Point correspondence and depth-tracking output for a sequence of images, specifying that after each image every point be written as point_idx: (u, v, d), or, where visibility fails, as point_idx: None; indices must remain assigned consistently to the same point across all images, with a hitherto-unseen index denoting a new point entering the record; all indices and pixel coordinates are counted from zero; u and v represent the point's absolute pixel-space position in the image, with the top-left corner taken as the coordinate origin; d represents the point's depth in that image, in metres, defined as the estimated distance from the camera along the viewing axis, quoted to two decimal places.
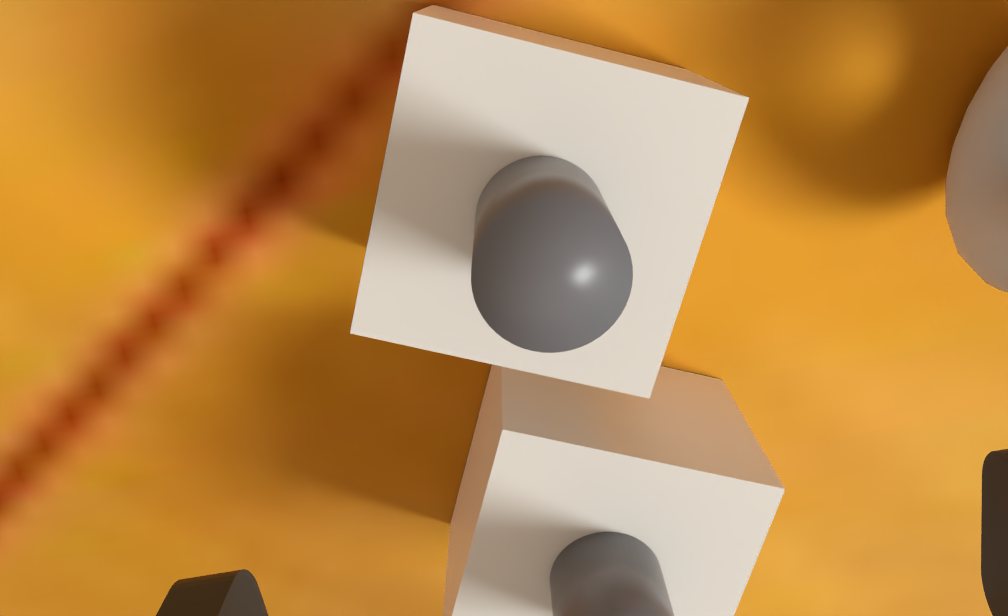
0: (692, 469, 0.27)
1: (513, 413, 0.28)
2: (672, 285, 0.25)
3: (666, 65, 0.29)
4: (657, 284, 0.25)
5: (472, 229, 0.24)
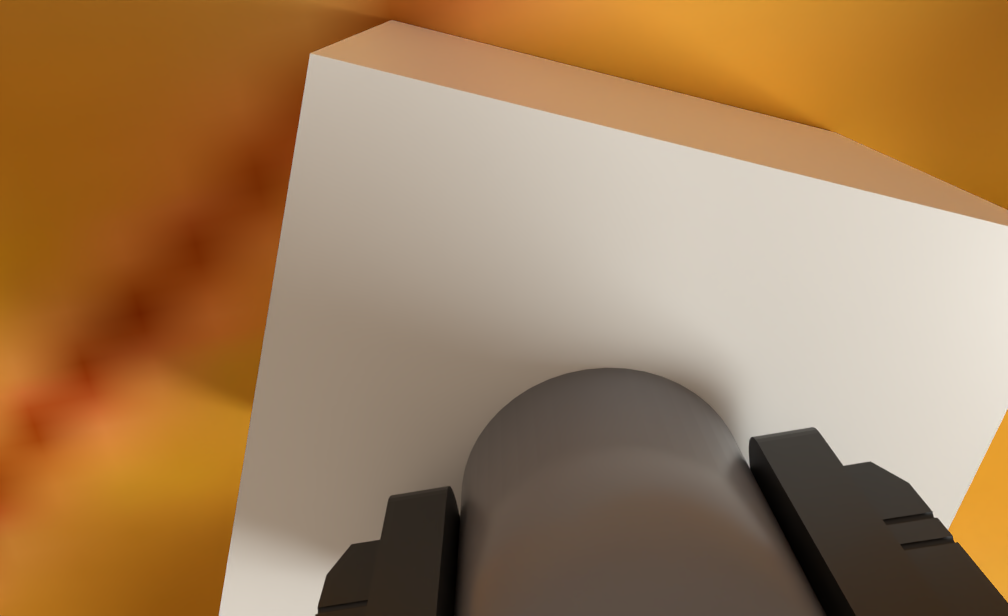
0: None
1: None
2: None
3: (809, 130, 0.16)
4: None
5: None
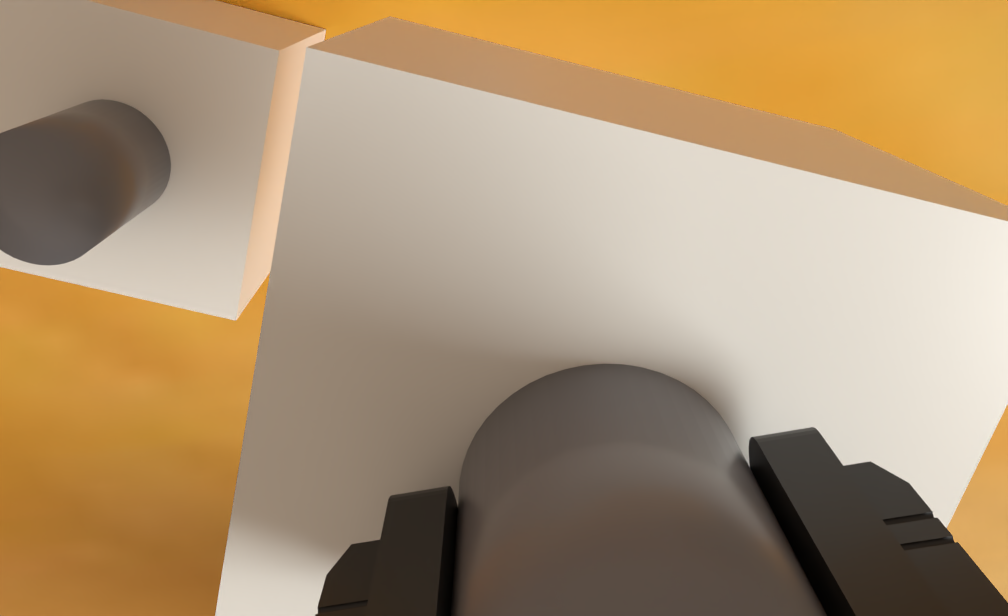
0: (178, 24, 0.26)
1: None
2: None
3: (808, 127, 0.16)
4: None
5: None
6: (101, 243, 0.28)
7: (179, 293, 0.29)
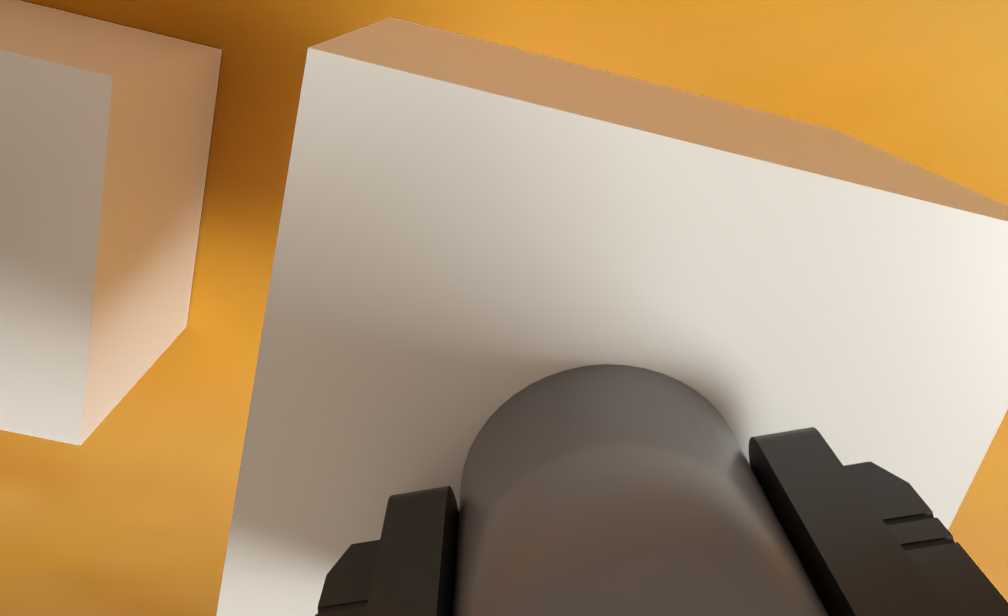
0: None
1: None
2: None
3: (809, 127, 0.16)
4: None
5: None
6: None
7: None
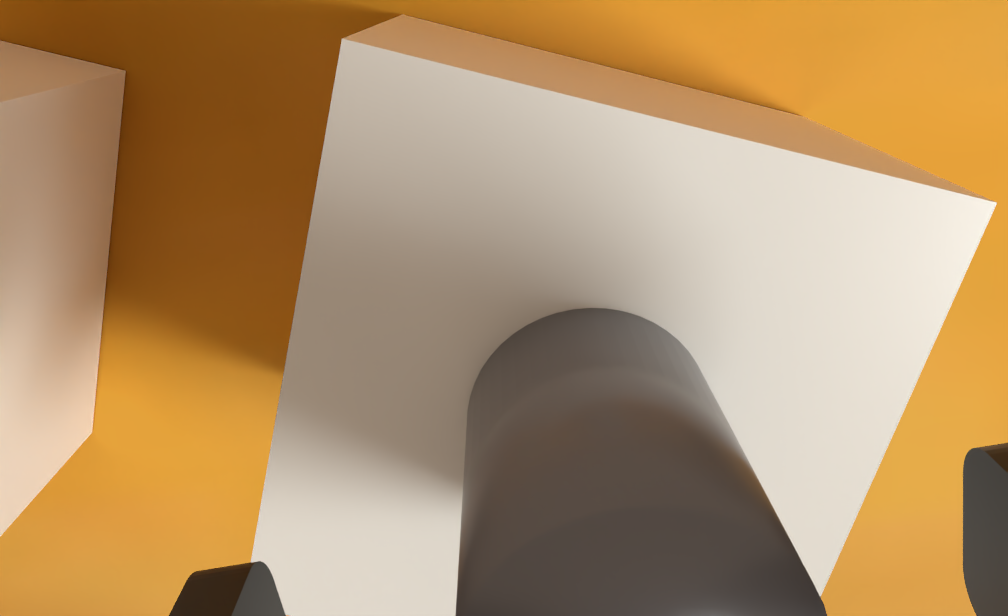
0: None
1: None
2: (824, 528, 0.14)
3: (777, 113, 0.18)
4: (797, 527, 0.14)
5: (462, 435, 0.13)
6: None
7: None
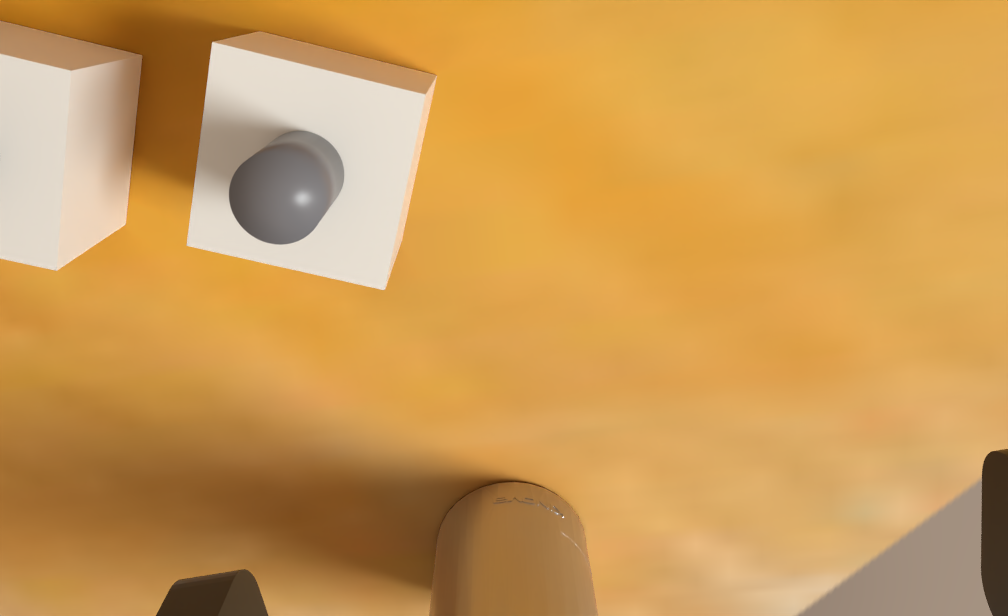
0: None
1: None
2: (391, 214, 0.39)
3: (416, 72, 0.44)
4: (381, 213, 0.39)
5: None
6: None
7: (13, 250, 0.39)
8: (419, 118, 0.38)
